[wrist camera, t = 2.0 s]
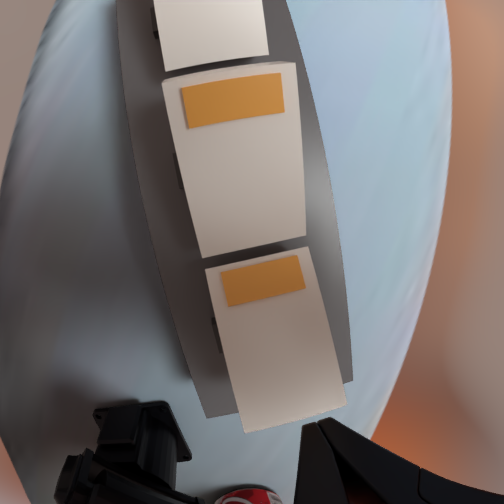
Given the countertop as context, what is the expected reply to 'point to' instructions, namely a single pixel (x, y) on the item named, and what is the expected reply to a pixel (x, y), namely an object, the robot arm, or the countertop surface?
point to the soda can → (249, 497)
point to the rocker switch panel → (177, 209)
